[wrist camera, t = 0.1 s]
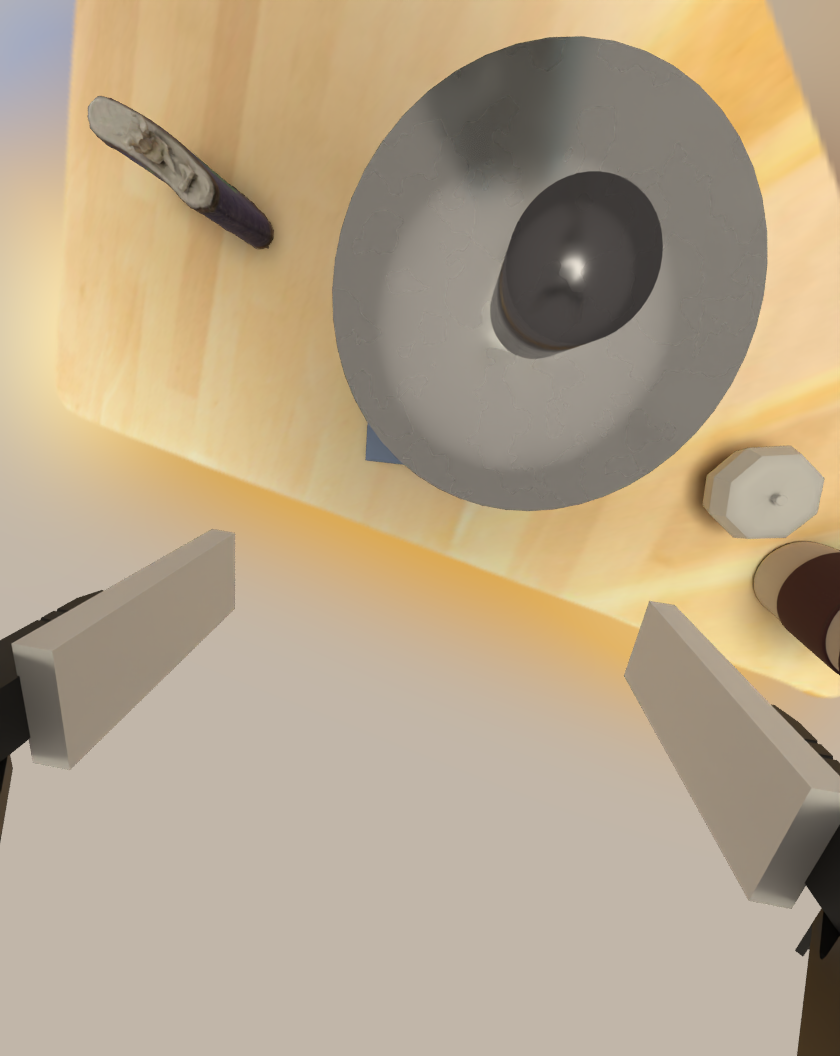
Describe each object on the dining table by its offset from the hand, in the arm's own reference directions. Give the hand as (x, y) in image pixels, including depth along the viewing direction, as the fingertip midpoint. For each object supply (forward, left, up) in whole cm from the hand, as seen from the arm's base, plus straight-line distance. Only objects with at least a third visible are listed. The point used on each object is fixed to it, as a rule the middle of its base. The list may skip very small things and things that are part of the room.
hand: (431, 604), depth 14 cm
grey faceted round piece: (-1, +25, -28) cm, 37 cm away
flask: (-19, -21, -28) cm, 40 cm away
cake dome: (-11, +4, -27) cm, 30 cm away
